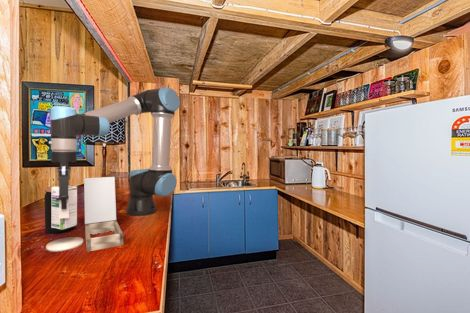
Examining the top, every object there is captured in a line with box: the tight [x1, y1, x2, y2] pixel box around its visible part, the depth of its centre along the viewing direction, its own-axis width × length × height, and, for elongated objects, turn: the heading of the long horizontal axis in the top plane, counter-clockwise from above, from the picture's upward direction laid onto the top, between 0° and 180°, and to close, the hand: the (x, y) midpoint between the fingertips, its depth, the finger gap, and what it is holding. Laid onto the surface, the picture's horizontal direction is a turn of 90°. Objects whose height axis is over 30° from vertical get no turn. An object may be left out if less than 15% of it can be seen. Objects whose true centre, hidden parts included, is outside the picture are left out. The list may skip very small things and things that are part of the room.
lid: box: [83, 176, 117, 225], centre depth 105 cm, size 11×18×1 cm
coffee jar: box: [43, 184, 77, 235], centre depth 105 cm, size 11×11×18 cm
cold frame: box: [84, 220, 124, 252], centre depth 96 cm, size 11×18×4 cm, turn 32°
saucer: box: [45, 236, 84, 252], centre depth 90 cm, size 11×11×1 cm
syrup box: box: [51, 185, 78, 230], centre depth 89 cm, size 6×6×14 cm
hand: (64, 214), depth 89 cm, fingers closed on syrup box, 8 cm apart
